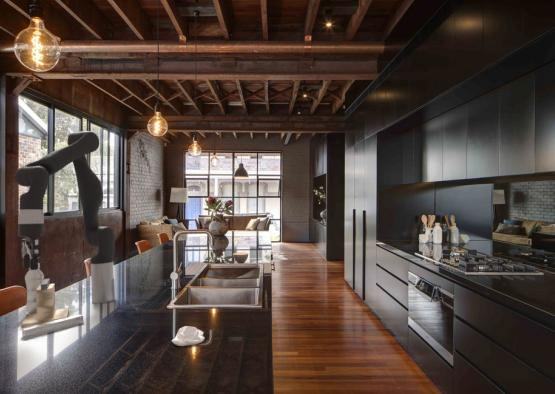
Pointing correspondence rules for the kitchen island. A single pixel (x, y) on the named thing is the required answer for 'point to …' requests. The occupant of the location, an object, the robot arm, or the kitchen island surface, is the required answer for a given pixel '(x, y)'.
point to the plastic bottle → (33, 288)
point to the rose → (188, 336)
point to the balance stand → (45, 307)
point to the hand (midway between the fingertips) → (30, 269)
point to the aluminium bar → (52, 326)
